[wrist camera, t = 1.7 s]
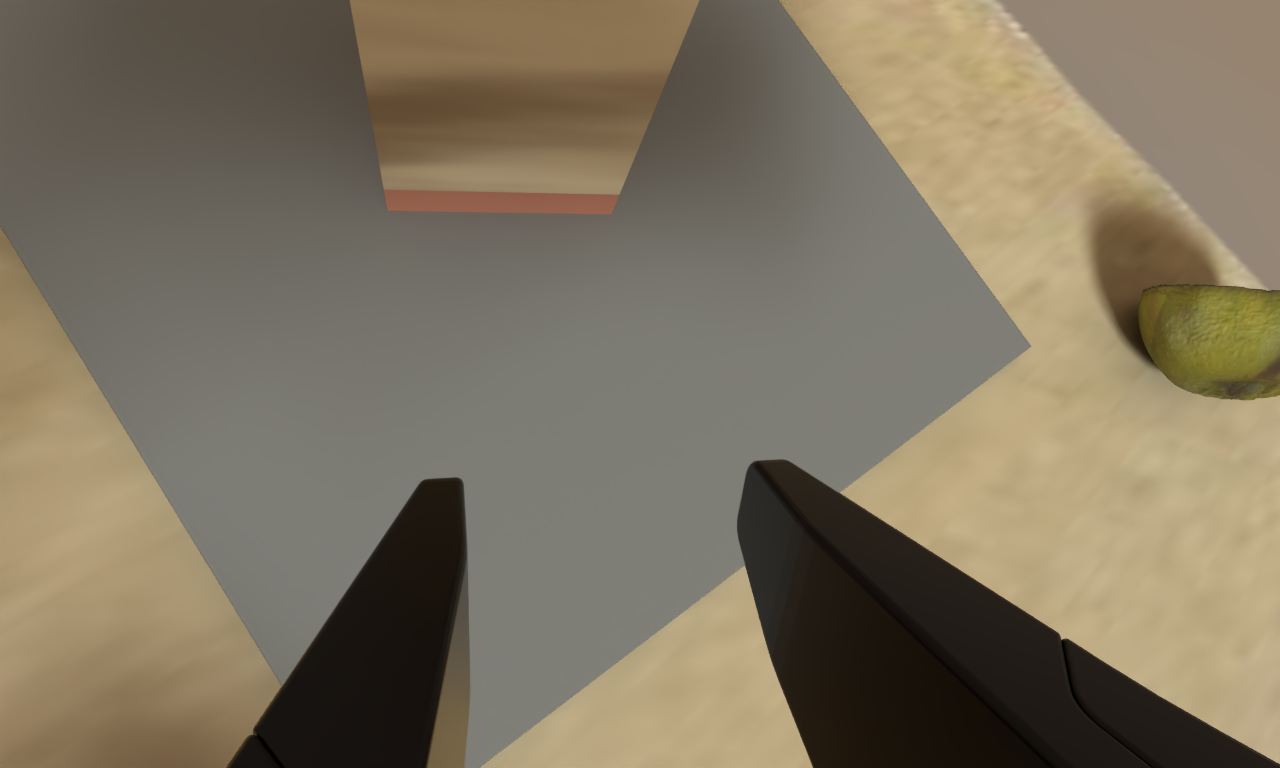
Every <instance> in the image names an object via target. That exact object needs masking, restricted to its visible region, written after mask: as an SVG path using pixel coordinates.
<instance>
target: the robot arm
mask: <svg viewBox="0 0 1280 768" xmlns="http://www.w3.org/2000/svg"><path fill="white" fill-rule="evenodd" d="M737 534H738V540H739V544H740V548H741V552H742V555H743V559H744V563H745V566H746V570H747V574H748V578H749V581H750V585H751V589H752V593H753V596H754V600H755V604H756V608H757V611H758V615H759V619H760V622H761V626H762V630H763V634H764V637H765V641H766V644H767V648H768V651H769V654H770V658H771V661H772V664H773V666H774V669H775V672H776V675H777V677H778V680H779V683H780V685H781V688H782V690H783V693H784V695H785V698H786V700H787V703H788V705H789V708H790V710H791V713H792V716H793V718H794V721H795V723H796V726H797V728H798V731H799V733H800V736H801V738H802V741H803V743H804V746H805V748H806V751H807V753H808V756H809V758H810V761H811V764H812V766H813V768H1280V764H1278V763H1276V762H1275V761H1273V760H1271V759H1269V758H1267V757H1266V756H1264V755H1262V754H1260V753H1258V752H1257V751H1255V750H1253V749H1251V748H1250V747H1248V746H1246V745H1244V744H1242V743H1241V742H1239V741H1237V740H1235V739H1233V738H1232V737H1230V736H1228V735H1226V734H1224V733H1223V732H1221V731H1219V730H1217V729H1216V728H1214V727H1212V726H1210V725H1209V724H1207V723H1205V722H1204V721H1202V720H1200V719H1198V718H1197V717H1195V716H1193V715H1191V714H1190V713H1188V712H1186V711H1184V710H1183V709H1181V708H1179V707H1177V706H1176V705H1174V704H1172V703H1170V702H1169V701H1167V700H1165V699H1163V698H1162V697H1160V696H1158V695H1157V694H1155V693H1153V692H1152V691H1150V690H1149V689H1147V688H1145V687H1144V686H1142V685H1140V684H1139V683H1137V682H1136V681H1134V680H1132V679H1131V678H1129V677H1128V676H1126V675H1124V674H1123V673H1121V672H1119V671H1118V670H1116V669H1115V668H1113V667H1111V666H1110V665H1108V664H1106V663H1105V662H1103V661H1102V660H1100V659H1099V658H1097V657H1095V656H1094V655H1092V654H1091V653H1089V652H1088V651H1086V650H1085V649H1083V648H1081V647H1080V646H1078V645H1077V644H1075V643H1074V642H1072V641H1071V640H1069V639H1062V640H1061V637H1060V634H1059V633H1058V632H1056V631H1054V630H1053V629H1051V628H1050V627H1048V626H1047V625H1045V624H1044V623H1042V622H1040V621H1039V620H1037V619H1036V618H1034V617H1033V616H1031V615H1029V614H1028V613H1026V612H1025V611H1023V610H1022V609H1020V608H1019V607H1017V606H1015V605H1014V604H1012V603H1011V602H1009V601H1008V600H1006V599H1004V598H1003V597H1001V596H1000V595H998V594H997V593H995V592H994V591H992V590H990V589H989V588H987V587H986V586H984V585H983V584H981V583H979V582H978V581H976V580H975V579H973V578H972V577H970V576H968V575H967V574H965V573H964V572H962V571H961V570H959V569H958V568H956V567H954V566H953V565H951V564H950V563H948V562H947V561H945V560H943V559H942V558H940V557H939V556H937V555H936V554H934V553H933V552H931V551H929V550H928V549H926V548H925V547H923V546H922V545H920V544H918V543H917V542H915V541H914V540H912V539H911V538H909V537H908V536H906V535H904V534H903V533H901V532H900V531H898V530H897V529H895V528H893V527H892V526H890V525H889V524H887V523H886V522H884V521H882V520H881V519H879V518H878V517H876V516H875V515H873V514H872V513H870V512H868V511H867V510H865V509H864V508H862V507H861V506H859V505H857V504H856V503H854V502H853V501H851V500H850V499H848V498H847V497H845V496H843V495H842V494H840V493H839V492H837V491H836V490H834V489H832V488H831V487H829V486H828V485H826V484H825V483H823V482H822V481H820V480H818V479H817V478H815V477H814V476H812V475H811V474H809V473H807V472H806V471H804V470H803V469H801V468H800V467H798V466H797V465H795V464H793V463H792V462H790V461H788V460H785V459H775V460H757V461H754V462H753V463H751V464H750V465H749V467H748V469H747V472H746V476H745V481H744V486H743V491H742V496H741V501H740V506H739V511H738V517H737ZM469 707H470V640H469V595H468V549H467V528H466V511H465V494H464V483H463V481H462V479H460V478H458V477H450V478H432V479H424V480H423V481H421V482H420V483H419V485H418V486H417V487H416V489H415V490H414V492H413V493H412V495H411V496H410V498H409V499H408V501H407V502H406V504H405V505H404V507H403V508H402V510H401V511H400V513H399V514H398V515H397V517H396V518H395V520H394V521H393V523H392V524H391V526H390V527H389V529H388V530H387V532H386V533H385V535H384V536H383V538H382V539H381V541H380V542H379V544H378V545H377V546H376V548H375V549H374V551H373V552H372V554H371V555H370V557H369V558H368V560H367V561H366V563H365V564H364V566H363V567H362V569H361V570H360V572H359V573H358V575H357V576H356V578H355V579H354V580H353V582H352V583H351V585H350V586H349V588H348V589H347V591H346V592H345V594H344V595H343V597H342V598H341V600H340V601H339V603H338V604H337V606H336V607H335V609H334V610H333V611H332V613H331V614H330V616H329V617H328V619H327V620H326V622H325V623H324V625H323V626H322V628H321V629H320V631H319V632H318V634H317V635H316V637H315V638H314V640H313V641H312V642H311V644H310V645H309V647H308V648H307V650H306V651H305V653H304V654H303V656H302V657H301V659H300V660H299V662H298V663H297V665H296V666H295V668H294V669H293V671H292V672H291V673H290V675H289V676H288V678H287V679H286V681H285V682H284V684H283V685H282V687H281V688H280V690H279V691H278V693H277V694H276V696H275V697H274V699H273V700H272V702H271V703H270V704H269V706H268V707H267V709H266V710H265V712H264V713H263V715H262V716H261V718H260V719H259V721H258V722H257V724H256V725H255V727H254V729H253V734H254V735H250V736H248V737H247V738H246V739H245V741H244V742H243V744H242V745H241V747H240V748H239V750H238V751H237V752H236V754H235V755H234V757H233V758H232V760H231V761H230V763H229V764H228V766H227V767H226V768H464V767H465V755H466V744H467V733H468V722H469Z"/></svg>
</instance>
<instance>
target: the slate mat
mask: <svg viewBox="0 0 1280 768" xmlns="http://www.w3.org/2000/svg"><path fill="white" fill-rule="evenodd" d="M0 226H1V228H2V230H3V231H4V233H5V234H6V236H7V238H8V239H9V241H10V243H11V244H12V246H13V248H14V249H15V251H16V252H17V254H18V256H19V257H20V259H21V261H22V262H23V264H24V265H25V267H26V269H27V270H28V272H29V274H30V275H31V277H32V279H33V280H34V282H35V283H36V285H37V287H38V288H39V290H40V292H41V293H42V295H43V297H44V298H45V300H46V301H47V303H48V305H49V306H50V308H51V310H52V311H53V313H54V314H55V316H56V318H57V319H58V321H59V323H60V324H61V326H62V328H63V329H64V331H65V332H66V334H67V336H68V337H69V339H70V341H71V342H72V344H73V346H74V347H75V349H76V350H77V352H78V354H79V355H80V357H81V359H82V360H83V362H84V364H85V365H86V367H87V368H88V370H89V372H90V373H91V375H92V377H93V378H94V380H95V381H96V383H97V385H98V386H99V388H100V390H101V391H102V393H103V395H104V396H105V398H106V399H107V401H108V403H109V404H110V406H111V408H112V409H113V411H114V413H115V414H116V416H117V417H118V419H119V421H120V422H121V424H122V426H123V427H124V429H125V431H126V432H127V434H128V435H129V437H130V439H131V440H132V442H133V444H134V445H135V447H136V448H137V450H138V452H139V453H140V455H141V457H142V458H143V460H144V462H145V463H146V465H147V466H148V468H149V470H150V471H151V473H152V475H153V476H154V478H155V480H156V481H157V483H158V484H159V486H160V488H161V489H162V491H163V493H164V494H165V496H166V497H167V499H168V501H169V502H170V504H171V506H172V507H173V509H174V511H175V512H176V514H177V515H178V517H179V519H180V520H181V522H182V524H183V525H184V527H185V529H186V530H187V532H188V533H189V535H190V537H191V538H192V540H193V542H194V543H195V545H196V547H197V548H198V550H199V551H200V553H201V555H202V556H203V558H204V560H205V561H206V563H207V564H208V566H209V568H210V569H211V571H212V573H213V574H214V576H215V578H216V579H217V581H218V582H219V584H220V586H221V587H222V589H223V591H224V592H225V594H226V596H227V597H228V599H229V600H230V602H231V604H232V605H233V607H234V609H235V610H236V612H237V613H238V615H239V617H240V618H241V620H242V622H243V623H244V625H245V627H246V628H247V630H248V631H249V633H250V635H251V636H252V638H253V640H254V641H255V643H256V645H257V646H258V648H259V649H260V651H261V653H262V654H263V656H264V658H265V659H266V661H267V663H268V664H269V666H270V667H271V669H272V671H273V672H274V674H275V676H276V677H277V679H278V680H279V682H280V684H281V685H283V684H284V682H285V681H286V679H287V678H288V676H289V675H290V673H291V672H292V671H293V669H294V668H295V666H296V665H297V663H298V662H299V660H300V659H301V657H302V656H303V654H304V653H305V651H306V650H307V648H308V647H309V645H310V644H311V642H312V641H313V640H314V638H315V637H316V635H317V634H318V632H319V631H320V629H321V628H322V626H323V625H324V623H325V622H326V620H327V619H328V617H329V616H330V614H331V613H332V611H333V610H334V609H335V607H336V606H337V604H338V603H339V601H340V600H341V598H342V597H343V595H344V594H345V592H346V591H347V589H348V588H349V586H350V585H351V583H352V582H353V580H354V579H355V578H356V576H357V575H358V573H359V572H360V570H361V569H362V567H363V566H364V564H365V563H366V561H367V560H368V558H369V557H370V555H371V554H372V552H373V551H374V549H375V548H376V546H377V545H378V544H379V542H380V541H381V539H382V538H383V536H384V535H385V533H386V532H387V530H388V529H389V527H390V526H391V524H392V523H393V521H394V520H395V518H396V517H397V515H398V514H399V513H400V511H401V510H402V508H403V507H404V505H405V504H406V502H407V501H408V499H409V498H410V496H411V495H412V493H413V492H414V490H415V489H416V487H417V486H418V485H419V483H420V482H421V481H423V480H424V479H432V478H450V477H458V478H460V479H462V481H463V483H464V494H465V511H466V528H467V549H468V595H469V640H470V707H469V722H468V733H467V744H466V755H465V767H464V768H480V767H481V766H482V765H484V764H485V763H486V762H487V761H489V760H490V759H491V758H493V757H494V756H495V755H497V754H498V753H499V752H501V751H502V750H503V749H504V748H506V747H507V746H508V745H510V744H511V743H512V742H514V741H515V740H516V739H518V738H519V737H520V736H521V735H523V734H524V733H525V732H527V731H528V730H529V729H531V728H532V727H533V726H535V725H536V724H537V723H539V722H540V721H541V720H542V719H544V718H545V717H546V716H548V715H549V714H550V713H552V712H553V711H554V710H556V709H557V708H558V707H559V706H561V705H562V704H563V703H565V702H566V701H567V700H569V699H570V698H571V697H573V696H574V695H575V694H577V693H578V692H579V691H580V690H582V689H583V688H584V687H586V686H587V685H588V684H590V683H591V682H592V681H594V680H595V679H596V678H597V677H599V676H600V675H601V674H603V673H604V672H605V671H607V670H608V669H609V668H611V667H612V666H613V665H614V664H616V663H617V662H618V661H620V660H621V659H622V658H624V657H625V656H626V655H628V654H629V653H630V652H632V651H633V650H634V649H635V648H637V647H638V646H639V645H641V644H642V643H643V642H645V641H646V640H647V639H649V638H650V637H651V636H652V635H654V634H655V633H656V632H658V631H659V630H660V629H662V628H663V627H664V626H666V625H667V624H668V623H670V622H671V621H672V620H673V619H675V618H676V617H677V616H679V615H680V614H681V613H683V612H684V611H685V610H687V609H688V608H689V607H690V606H692V605H693V604H694V603H696V602H697V601H698V600H700V599H701V598H702V597H704V596H705V595H706V594H707V593H709V592H710V591H711V590H713V589H714V588H715V587H717V586H718V585H719V584H721V583H722V582H723V581H725V580H726V579H727V578H728V577H730V576H731V575H732V574H734V573H735V572H736V571H738V570H739V569H740V568H742V567H743V566H744V565H745V563H744V559H743V555H742V552H741V548H740V544H739V540H738V534H737V517H738V511H739V506H740V501H741V496H742V491H743V486H744V481H745V476H746V472H747V469H748V467H749V465H750V464H751V463H753V462H754V461H757V460H775V459H785V460H788V461H790V462H792V463H793V464H795V465H797V466H798V467H800V468H801V469H803V470H804V471H806V472H807V473H809V474H811V475H812V476H814V477H815V478H817V479H818V480H820V481H822V482H823V483H825V484H826V485H828V486H829V487H831V488H832V489H834V490H836V491H837V492H839V493H840V492H841V491H842V490H844V489H845V488H846V487H848V486H849V485H850V484H852V483H853V482H854V481H855V480H857V479H858V478H859V477H861V476H862V475H863V474H865V473H866V472H867V471H869V470H870V469H871V468H873V467H874V466H875V465H876V464H878V463H879V462H880V461H882V460H883V459H884V458H886V457H887V456H888V455H890V454H891V453H892V452H893V451H895V450H896V449H897V448H899V447H900V446H901V445H903V444H904V443H905V442H907V441H908V440H909V439H910V438H912V437H913V436H914V435H916V434H917V433H918V432H920V431H921V430H922V429H924V428H925V427H926V426H928V425H929V424H930V423H931V422H933V421H934V420H935V419H937V418H938V417H939V416H941V415H942V414H943V413H945V412H946V411H947V410H948V409H950V408H951V407H952V406H954V405H955V404H956V403H958V402H959V401H960V400H962V399H963V398H964V397H966V396H967V395H968V394H969V393H971V392H972V391H973V390H975V389H976V388H977V387H979V386H980V385H981V384H983V383H984V382H985V381H986V380H988V379H989V378H990V377H992V376H993V375H994V374H996V373H997V372H998V371H1000V370H1001V369H1002V368H1003V367H1005V366H1006V365H1007V364H1009V363H1010V362H1011V361H1013V360H1014V359H1015V358H1017V357H1018V356H1019V355H1021V354H1022V353H1023V352H1024V351H1026V350H1027V349H1028V348H1030V347H1031V345H1030V344H1029V343H1028V341H1027V340H1026V338H1025V337H1024V336H1023V334H1022V333H1021V332H1020V330H1019V329H1018V327H1017V326H1016V325H1015V323H1014V322H1013V321H1012V319H1011V318H1010V317H1009V315H1008V314H1007V312H1006V311H1005V310H1004V308H1003V307H1002V306H1001V304H1000V303H999V301H998V300H997V299H996V297H995V296H994V295H993V293H992V292H991V291H990V289H989V288H988V286H987V285H986V284H985V282H984V281H983V280H982V278H981V277H980V275H979V274H978V273H977V271H976V270H975V269H974V267H973V266H972V265H971V263H970V262H969V260H968V259H967V258H966V256H965V255H964V254H963V252H962V251H961V249H960V248H959V247H958V245H957V244H956V243H955V241H954V240H953V239H952V237H951V236H950V234H949V233H948V232H947V230H946V229H945V228H944V226H943V225H942V223H941V222H940V221H939V219H938V218H937V217H936V215H935V214H934V212H933V211H932V210H931V208H930V207H929V206H928V204H927V203H926V202H925V200H924V199H923V197H922V196H921V195H920V193H919V192H918V191H917V189H916V188H915V186H914V185H913V184H912V182H911V181H910V180H909V178H908V177H907V176H906V174H905V173H904V171H903V170H902V169H901V167H900V166H899V165H898V163H897V162H896V160H895V159H894V158H893V156H892V155H891V154H890V152H889V151H888V150H887V148H886V147H885V145H884V144H883V143H882V141H881V140H880V139H879V137H878V136H877V134H876V133H875V132H874V130H873V129H872V128H871V126H870V125H869V124H868V122H867V121H866V119H865V118H864V117H863V115H862V114H861V113H860V111H859V110H858V108H857V107H856V106H855V104H854V103H853V102H852V100H851V99H850V98H849V96H848V95H847V93H846V92H845V91H844V89H843V88H842V87H841V85H840V84H839V82H838V81H837V80H836V78H835V77H834V76H833V74H832V73H831V72H830V70H829V69H828V67H827V66H826V65H825V63H824V62H823V61H822V59H821V58H820V56H819V55H818V54H817V52H816V51H815V50H814V48H813V47H812V46H811V44H810V43H809V41H808V40H807V39H806V37H805V36H804V35H803V33H802V32H801V30H800V29H799V28H798V26H797V25H796V24H795V22H794V21H793V20H792V18H791V17H790V15H789V14H788V13H787V11H786V10H785V9H784V7H783V6H782V4H781V3H780V2H779V0H699V3H698V5H697V8H696V10H695V13H694V15H693V17H692V20H691V22H690V25H689V27H688V30H687V32H686V34H685V37H684V39H683V42H682V44H681V47H680V49H679V51H678V54H677V56H676V59H675V61H674V64H673V66H672V68H671V71H670V73H669V76H668V78H667V81H666V83H665V85H664V88H663V90H662V93H661V95H660V98H659V100H658V102H657V105H656V107H655V110H654V112H653V115H652V117H651V119H650V122H649V124H648V127H647V129H646V132H645V134H644V136H643V139H642V141H641V144H640V146H639V149H638V151H637V153H636V156H635V158H634V161H633V163H632V166H631V168H630V170H629V173H628V175H627V178H626V180H625V183H624V185H623V187H622V190H621V192H620V195H619V197H618V200H617V202H616V204H615V207H614V209H613V212H612V214H556V213H493V212H429V211H388V210H387V205H386V199H385V194H384V188H383V183H382V177H381V172H380V166H379V160H378V155H377V149H376V144H375V138H374V133H373V127H372V122H371V116H370V111H369V105H368V99H367V94H366V88H365V83H364V77H363V72H362V66H361V61H360V55H359V49H358V44H357V38H356V33H355V27H354V22H353V16H352V11H351V5H350V0H0Z"/></svg>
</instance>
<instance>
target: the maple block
mask: <svg viewBox="0 0 1280 768" xmlns="http://www.w3.org/2000/svg"><path fill="white" fill-rule="evenodd" d="M698 3H699V0H350V5H351V11H352V16H353V22H354V27H355V33H356V38H357V44H358V49H359V55H360V61H361V66H362V72H363V77H364V83H365V88H366V94H367V99H368V105H369V111H370V116H371V122H372V127H373V133H374V138H375V144H376V149H377V155H378V160H379V166H380V172H381V177H382V183H383V188H384V194H385V199H386V205H387V210H388V211H429V212H493V213H556V214H612V212H613V209H614V207H615V204H616V202H617V200H618V197H619V195H620V192H621V190H622V187H623V185H624V183H625V180H626V178H627V175H628V173H629V170H630V168H631V166H632V163H633V161H634V158H635V156H636V153H637V151H638V149H639V146H640V144H641V141H642V139H643V136H644V134H645V132H646V129H647V127H648V124H649V122H650V119H651V117H652V115H653V112H654V110H655V107H656V105H657V102H658V100H659V98H660V95H661V93H662V90H663V88H664V85H665V83H666V81H667V78H668V76H669V73H670V71H671V68H672V66H673V64H674V61H675V59H676V56H677V54H678V51H679V49H680V47H681V44H682V42H683V39H684V37H685V34H686V32H687V30H688V27H689V25H690V22H691V20H692V17H693V15H694V13H695V10H696V8H697V5H698Z"/></svg>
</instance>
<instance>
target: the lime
mask: <svg viewBox="0 0 1280 768" xmlns="http://www.w3.org/2000/svg"><path fill="white" fill-rule="evenodd" d="M1138 321H1139V327H1140V333H1141V336H1142V339H1143V342H1144V345H1145V347H1146V349H1147V352H1148V353H1149V355H1150V356H1151V358H1152V360H1153V361H1154V363H1155V364H1156V365H1157V367H1158V368H1159V369H1160V370H1161V371H1162V373H1163V374H1164V375H1165V376H1166V377H1167V378H1168V379H1169V380H1170V381H1171V382H1172V383H1174V384H1175V385H1176V386H1178V387H1180V388H1182V389H1184V390H1186V391H1189V392H1192V393H1195V394H1199V395H1202V396H1206V397H1215V398H1220V399H1231V400H1232V399H1238V400H1254V399H1256V398H1268V397H1276V396H1279V395H1280V291H1279V290H1277V291H1276V290H1271V291H1266V290H1262V289H1248V288H1244V287H1236V286H1214V285H1193V286H1191V285H1187V284H1186V285H1185V284H1184V285H1159V286H1156V287H1153V286H1152V287H1151V288H1148V289H1146V290H1144V291H1143V294H1142V298H1141V300H1140V302H1139V307H1138Z"/></svg>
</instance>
